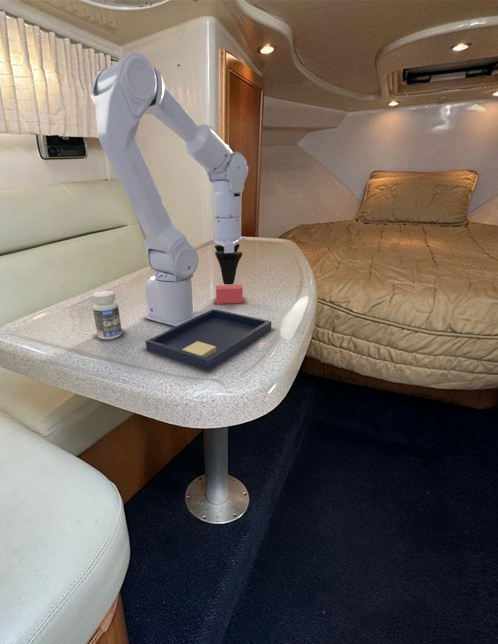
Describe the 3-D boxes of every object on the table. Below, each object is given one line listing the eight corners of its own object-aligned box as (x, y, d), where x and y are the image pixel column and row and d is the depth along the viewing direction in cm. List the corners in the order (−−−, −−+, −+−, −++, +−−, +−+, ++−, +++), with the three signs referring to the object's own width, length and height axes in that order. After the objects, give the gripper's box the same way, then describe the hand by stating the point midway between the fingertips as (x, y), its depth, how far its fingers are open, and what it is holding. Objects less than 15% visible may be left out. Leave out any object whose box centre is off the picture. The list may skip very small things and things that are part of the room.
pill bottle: (107, 342, 68) (99, 299, 64) (93, 336, 71) (85, 294, 68) (127, 333, 71) (121, 292, 67) (112, 328, 74) (106, 288, 70)
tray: (146, 350, 64) (145, 340, 63) (213, 316, 77) (213, 308, 76) (208, 371, 55) (207, 361, 55) (271, 330, 68) (271, 321, 68)
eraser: (216, 303, 84) (216, 289, 83) (216, 299, 87) (215, 285, 86) (242, 302, 84) (242, 288, 82) (241, 298, 87) (241, 284, 85)
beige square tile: (182, 354, 60) (182, 349, 59) (197, 346, 62) (197, 340, 62) (201, 361, 57) (201, 355, 57) (216, 351, 60) (216, 346, 60)
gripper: (250, 219, 70) (248, 287, 76) (243, 212, 83) (243, 271, 89) (213, 221, 71) (214, 288, 77) (213, 214, 84) (214, 272, 90)
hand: (227, 279), depth 83 cm, fingers open, 7 cm apart
